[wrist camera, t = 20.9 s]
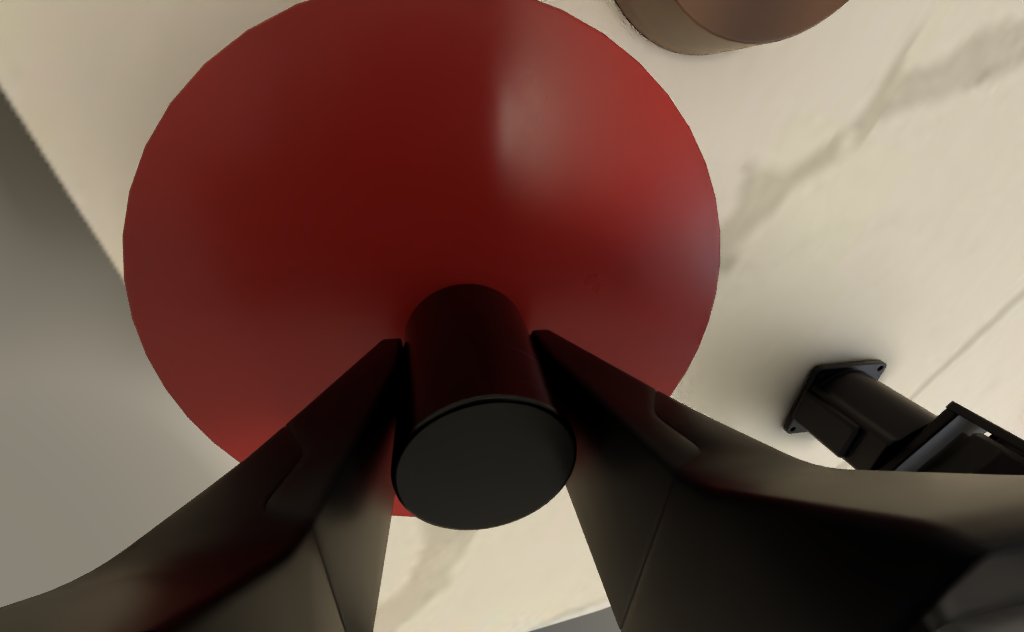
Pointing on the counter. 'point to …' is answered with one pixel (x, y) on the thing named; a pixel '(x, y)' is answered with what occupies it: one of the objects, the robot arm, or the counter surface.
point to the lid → (420, 234)
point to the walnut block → (723, 22)
